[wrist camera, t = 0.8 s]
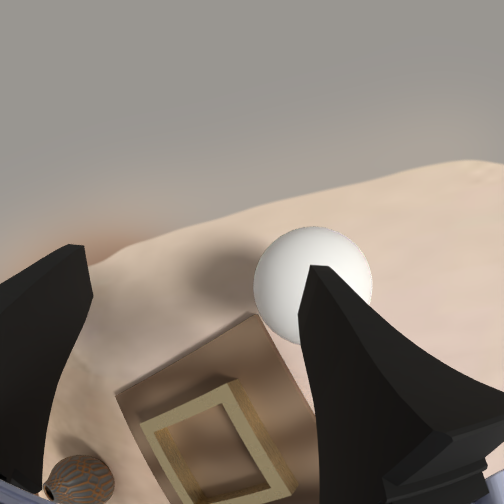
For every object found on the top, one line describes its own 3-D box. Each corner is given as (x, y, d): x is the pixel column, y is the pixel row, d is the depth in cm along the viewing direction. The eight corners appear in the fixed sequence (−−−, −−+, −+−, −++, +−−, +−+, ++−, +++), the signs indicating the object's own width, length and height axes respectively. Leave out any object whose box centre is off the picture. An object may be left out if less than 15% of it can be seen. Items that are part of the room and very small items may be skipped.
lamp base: (362, 496, 19) (361, 500, 18) (199, 536, 23) (195, 540, 23) (258, 314, 26) (254, 314, 25) (120, 395, 30) (115, 396, 29)
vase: (117, 457, 29) (57, 476, 21) (128, 504, 27) (75, 529, 19) (81, 444, 31) (26, 457, 23) (91, 489, 30) (41, 506, 22)
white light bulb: (282, 312, 25) (211, 309, 15) (318, 242, 25) (270, 191, 15) (351, 350, 22) (325, 378, 12) (389, 276, 22) (394, 245, 12)
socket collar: (298, 484, 21) (291, 495, 19) (203, 509, 23) (192, 517, 21) (238, 378, 25) (226, 382, 23) (153, 419, 27) (139, 423, 25)
